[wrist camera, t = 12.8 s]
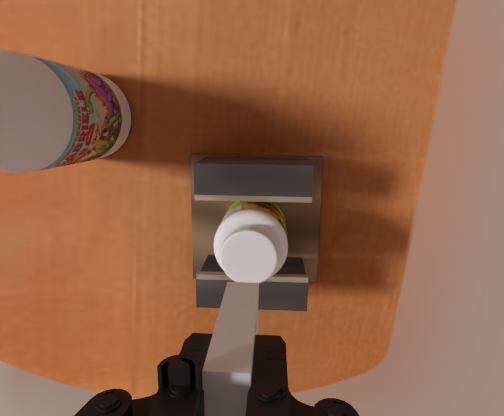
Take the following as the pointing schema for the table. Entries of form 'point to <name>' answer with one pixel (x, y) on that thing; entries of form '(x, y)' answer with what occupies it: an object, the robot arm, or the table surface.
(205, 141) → the table surface
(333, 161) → the table surface
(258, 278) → the supplement bottle
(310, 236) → the clamp block
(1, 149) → the milk bottle
